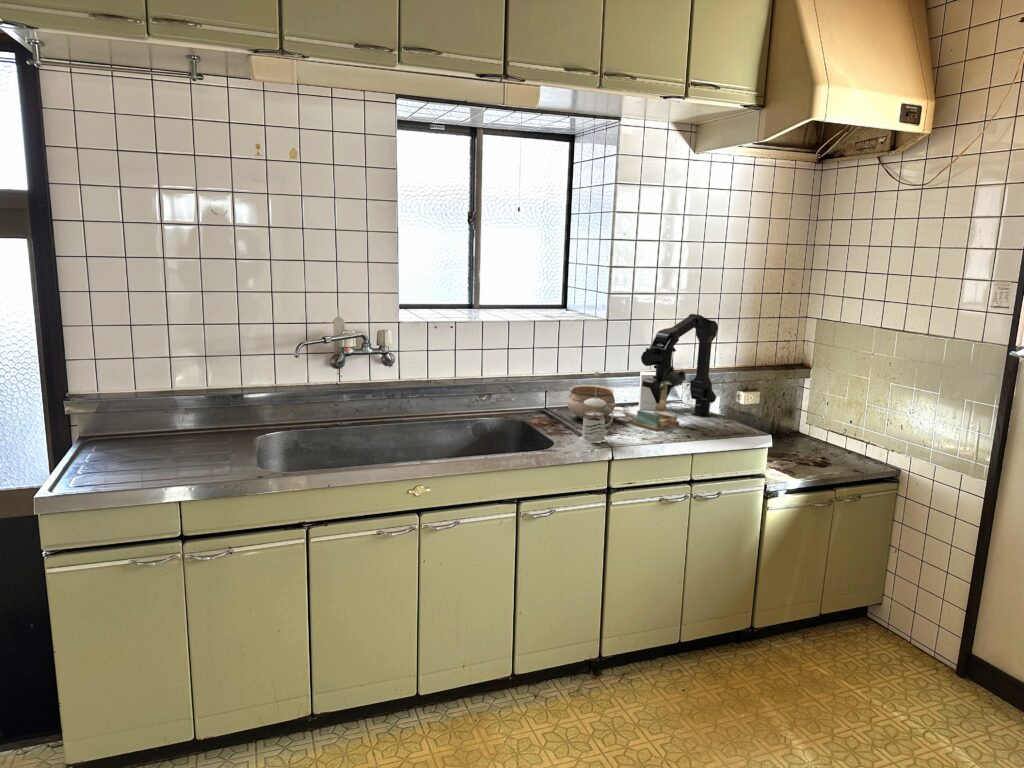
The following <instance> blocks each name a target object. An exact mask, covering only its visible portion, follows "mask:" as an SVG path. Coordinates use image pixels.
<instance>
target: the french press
mask: <svg viewBox="0 0 1024 768" xmlns="http://www.w3.org/2000/svg"><path fill="white" fill-rule="evenodd" d="M593 375H594V376H596V377H595V378H596V379H595V385H598V383H597V382H598V381H597V380H598V376H600V372H599V371H594V373H593ZM584 404H585V405H588V406H594V407H601V406H605V405H606V402H605V401H604V400H601V399H599V398H596V392H595V398H590V399H587V400H585V401H584ZM605 407H606V408H608V409H610V408H609V407H607V406H605ZM610 410H611V409H610ZM605 411H606V409H605ZM584 414H585V415H586V416H584V417H583V421H582V436H580V437H579V439H581V440H583V441H588V442H594V441H601V440H605V439H606V438H605V434H606V428H607V427H609V426H610V425H612V423H613V422H614V421H613V420H614V412H613V411H612V410H611V418H610V420H609V421H608V423H607V424H606V418H605V417H603V416H604V413H602V412H595V409H594V411H588V412H585V413H584ZM591 418H597V419H599V420H590V419H591ZM581 440H580V441H581Z"/></svg>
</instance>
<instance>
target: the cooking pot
mask: <svg viewBox="0 0 1024 768" xmlns="http://www.w3.org/2000/svg"><path fill="white" fill-rule="evenodd" d="M569 390H570V391H569V392H568V393H567V396H568V397H567V401H566V403H567V407H568V409H569V410H570V412H571V413H572V414H573V415H575V416H576V417H577V418H579V419H580V420H583V417H584V416H586V415H585V414H584V413H585V412H588V411H594V409H595V412H602V413H604V416H603V417H604V418H606V417H608V416H609V415H612V413H611V410H612V412H613V411H614V410H615V407H616V406H617V403H616V401H615V400H616V399H615V396H614V392H615V390H614V389H613V388H612V387H609V386H605V385H598V384H578V385H573V386H570V387H569ZM595 392H596V398H599V399H601V400H604V401H605V402H606V405H605V406H607V407H609V408H610V409H611V410H610V409H608V408H606V407H605V406H601V407H594V406H588V405H585V404H584V401H585V400H587V399H590V398H595ZM605 409H606V411H605ZM590 420H598V421H600V420H599V419H597V418H591V419H590Z"/></svg>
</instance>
